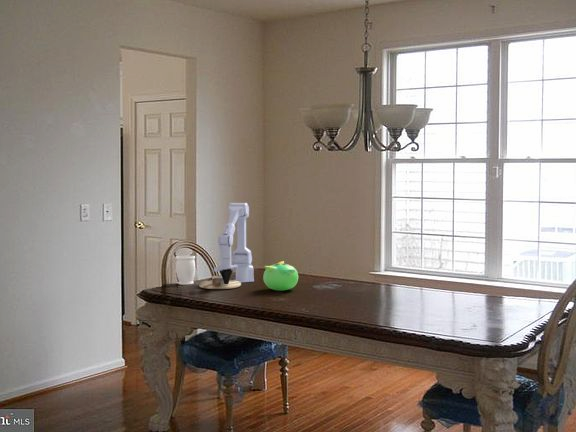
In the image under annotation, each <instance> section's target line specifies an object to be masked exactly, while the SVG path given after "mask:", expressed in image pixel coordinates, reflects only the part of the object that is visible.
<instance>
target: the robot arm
mask: <svg viewBox="0 0 576 432" xmlns="http://www.w3.org/2000/svg"><path fill="white" fill-rule="evenodd" d="M228 213H229V218H228V221H227V223H226V224H225V225H224V227H223V230H222V233H221V234H220V235H219V236H218V240H217V243H218V249H219V250H220V251H219V253H220V254H219V258H220V261H219V263H220V265H219V266H216V267H215V266H214V267H213V272H219V273H220V276H222V278H223V281H224V284H228V283H229V280H231V279H230V278H231V276H232V274H233V271H234V270H235V279H233V280H234V281H239V282H241V283H250V282H255V278H254V273H255V272H254V271H255V270H254V266H253V264H252V263H253V262H252V261H253V255H252V250H250V249H249V248H248V247H247V218H249V216H250V206H249V204H248V202H230V203H229V204H228ZM236 223H237V228H236V226H235V225H236ZM236 229H237V232H236V233H237V234H236V235H237V237H236V238H237V239H236V240H237V241H236V242H237V246H236V247H237V248H236V249H235V250H233V251H232V246H233V244H234V234H235V231H236ZM232 263H233V264H232Z"/></svg>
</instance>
